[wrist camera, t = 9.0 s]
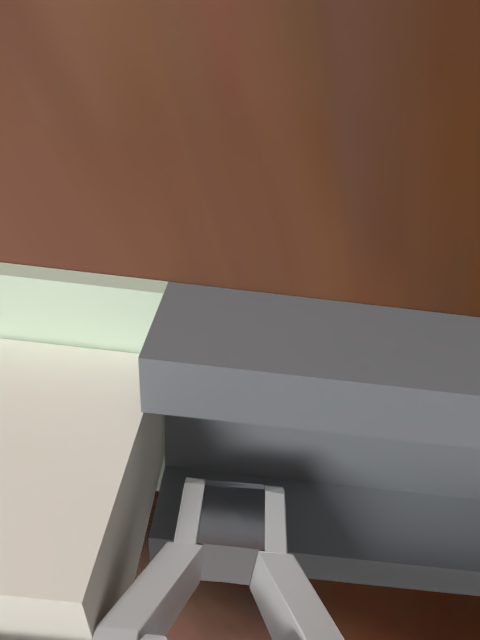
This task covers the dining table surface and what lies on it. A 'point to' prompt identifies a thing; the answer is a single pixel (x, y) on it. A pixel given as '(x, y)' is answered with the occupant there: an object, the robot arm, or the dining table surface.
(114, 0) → the dining table surface
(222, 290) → the chute
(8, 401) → the block
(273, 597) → the robot arm
